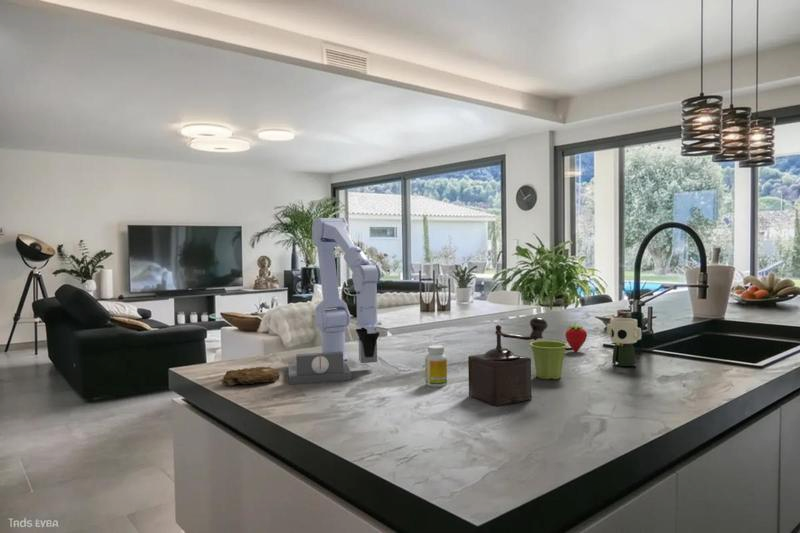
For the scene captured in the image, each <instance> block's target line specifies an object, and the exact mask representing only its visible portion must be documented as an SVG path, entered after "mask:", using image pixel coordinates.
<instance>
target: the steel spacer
mask: <svg viewBox="0 0 800 533" xmlns="http://www.w3.org/2000/svg"><path fill="white" fill-rule="evenodd" d="M377 341H378V340H377ZM377 341H376V344H375V350H374V355H373V357H365V353H364V348H363V343H362V339H359V338H358V361H359V362H360V363H361V364H367V363H378V343H377Z"/></svg>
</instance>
